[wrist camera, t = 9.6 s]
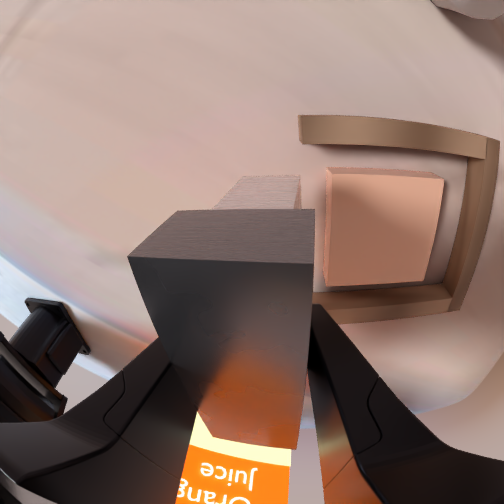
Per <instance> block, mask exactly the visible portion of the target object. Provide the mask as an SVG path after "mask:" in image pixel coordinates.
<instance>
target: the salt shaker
mask: <svg viewBox="0 0 504 504" xmlns="http://www.w3.org/2000/svg"><path fill="white" fill-rule="evenodd" d="M431 1H432V2H433V3H434V4H435V5H436V6H437V7H441V8H446V9H449V10H452V11H455V12H458V13H461V14H463V15H466V16H469V17H471V18H477V19H490V20H493V19H495V18H497V17H499V16H501V15H502V14H504V0H431Z"/></svg>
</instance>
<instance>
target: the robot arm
mask: <svg viewBox="0 0 504 504" xmlns="http://www.w3.org/2000/svg"><path fill="white" fill-rule="evenodd" d="M25 304H26V306H27V307H28V309H29V311H30V313H31V314H30V315H29V316H28V318H27V319H26V320H25V321H24V322H23V324H22V325H21V326H20V327H19V329H18V330H17V331H16V333H15V334H14V335H13V337H12V338H11V339H10V341H9V342H8V341H7V340H6V338H5V337H4V335H3V334H2V332H1V331H0V504H176V499H177V495H178V491H179V486H180V482H181V481H180V480H181V477H182V473H183V469H184V465H185V460H186V456H187V452H188V448H189V444H190V440H191V436H192V432H193V427H194V423H195V419H196V415H197V410H196V408H195V406H194V404H193V403H192V401H191V399H190V397H189V395H188V393H187V392H186V390H185V388H184V386H183V384H182V382H181V380H180V378H179V376H178V374H177V373H176V371H175V369H174V367H173V365H172V363H171V362H170V360H169V357H168V355H167V353H166V351H165V349H164V347H163V345H162V343H161V340H160V338H159V337H158V338H157V339H156V340H155V341H154V342H153V343H151V344H150V345H149V346H148V347H147V348H146V349H145V350H144V351H142V352H141V353H140V354H139V355H138V356H137V357H136V358H134V359H133V360H132V361H131V362H130V363H129V364H128V365H127V366H125V367H124V368H123V371H122V370H121V371H120V372H118V373H117V374H116V375H115V376H114V377H113V378H112V379H110V380H109V381H108V382H107V383H106V384H104V385H103V386H102V387H101V388H99V389H98V390H97V391H95V392H94V393H93V394H91V395H90V396H89V397H87V398H86V399H85V400H83V401H82V402H80V403H79V404H77V405H76V406H75V407H73V408H72V409H70V410H69V411H67V412H66V413H65V414H63V413H64V409H65V406H66V403H67V399H68V398H67V397H65V396H64V395H62V394H61V393H59V392H58V391H57V390H56V389H55V388H56V386H57V384H58V382H59V381H60V379H61V377H62V376H63V375H65V374H66V372H67V370H68V369H69V367H70V365H71V364H72V362H73V360H74V359H75V357H76V355H77V354H78V353H81V354H85V355H89V353H90V349H89V348H88V346H87V345H86V343H85V341H84V340H83V338H82V337H81V335H80V333H79V332H78V330H77V328H76V327H75V325H74V323H73V322H72V320H71V318H70V316H69V315H68V313H67V311H66V309H65V307H64V306H63V305H62V304H61V303H59V302H52V301H44V300H37V299H31V298H27V299H26V300H25ZM307 371H308V379H309V385H310V392H311V398H312V405H313V412H314V419H315V426H316V433H317V441H318V448H319V456H320V465H321V473H322V482H323V489H324V490H323V492H324V501H325V504H504V461H502V460H497V459H492V458H487V457H484V456H480V455H476V454H472V453H468V452H465V451H461V450H458V449H455V448H453V447H450V446H449V445H447V444H445V443H444V442H442V441H441V440H440V439H439V438H437V437H436V436H435V435H434V434H433V433H432V432H431V431H430V430H429V429H428V428H427V427H426V426H425V425H424V424H423V423H422V422H421V421H420V420H419V419H418V418H417V417H416V416H415V415H414V414H413V413H412V412H411V411H410V410H409V409H408V408H407V407H406V406H405V405H404V404H403V403H402V402H401V401H400V400H399V399H398V398H397V397H396V395H395V394H394V393H393V392H392V391H391V390H390V388H389V387H388V386H387V385H386V383H385V382H384V381H383V380H382V378H381V377H379V375H378V373H377V372H376V371H375V370H374V368H373V367H372V366H371V365H370V364H369V362H368V361H367V360H366V359H365V357H364V356H363V355H362V354H361V352H360V351H359V350H358V349H357V347H356V346H355V345H354V344H353V342H352V341H351V340H350V339H349V338H348V336H347V335H346V334H345V333H344V331H343V330H342V329H341V328H340V327H339V325H338V324H337V323H336V322H335V321H334V319H333V318H332V317H331V316H330V314H329V313H328V312H327V311H326V310H325V308H324V307H323V306H322V305H321V304H319V303H315V304H312V315H311V329H310V342H309V353H308V364H307ZM378 377H379V378H378Z"/></svg>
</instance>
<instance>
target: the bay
mask: <svg viewBox="0 0 504 504" xmlns="http://www.w3.org/2000/svg"><path fill="white" fill-rule="evenodd" d="M298 123H299V139H300V141H301V143H302V144H353V145H376V146H391V147H403V148H413V149H422V150H431V151H438V152H445V153H452V154H458V155H464V156H468V166H467V175H466V183H465V190H464V197H463V203H462V208H461V214H460V219H459V224H458V228H457V233H456V237H455V241H454V245H453V249H452V253H451V257H450V260H449V264H448V267H447V270H446V274H445V277H444V280H443V283H442V284H432V285H422V286H411V287H399V288H386V289H372V290H357V291H340V292H319V293H313V298H312V304H315V303H319V304H321V305H322V306H323V307H324V308H325V310H326V311H327V312H328V313H329V314H330V316H331V317H332V318H333V319H334V321H335V322H336V323H337V324H350V323H362V322H374V321H384V320H393V319H402V318H410V317H418V316H425V315H432V314H438V313H445V312H451V311H457V310H460V307H461V305H462V302H463V300H464V298H465V295H466V293H467V290H468V287H469V285H470V282H471V279H472V277H473V274H474V271H475V268H476V265H477V262H478V259H479V255H480V252H481V249H482V245H483V242H484V238H485V234H486V230H487V226H488V222H489V218H490V213H491V208H492V203H493V197H494V192H495V185H496V178H497V170H498V161H499V149H500V141H498V140H495V139H492V138H489V137H486V136H482V135H478V134H474V133H470V132H466V131H462V130H457V129H452V128H447V127H442V126H437V125H431V124H425V123H419V122H412V121H404V120H396V119H386V118H375V117H361V116H340V115H298Z"/></svg>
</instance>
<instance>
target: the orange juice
mask: <svg viewBox="0 0 504 504" xmlns="http://www.w3.org/2000/svg"><path fill="white" fill-rule="evenodd" d="M290 465H291V449H283V448H273V447H265V446H258V445H251V444H245V443H239V442H234V441H229V440H224V439H219V438H214V437H212V435H211V434H210V432H209V430H208V429H207V427H206V426H205V424H204V422H203V421H202V419H201V417H200V415H199V414H198V412H197V415H196V419H195V423H194V427H193V432H192V436H191V440H190V444H189V448H188V452H187V456H186V460H185V465H184V469H183V473H182V477H181V480H180V481H181V482H180V486H179V491H178V495H177V499H176V504H288V489H289V488H288V487H289V467H290Z"/></svg>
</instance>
